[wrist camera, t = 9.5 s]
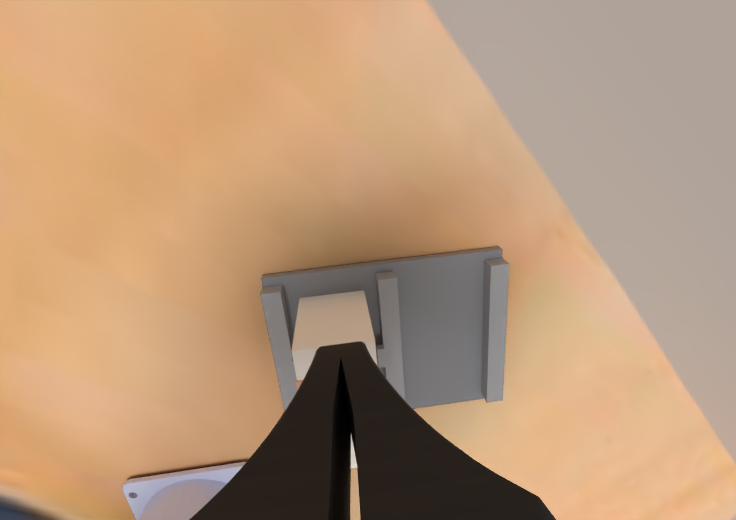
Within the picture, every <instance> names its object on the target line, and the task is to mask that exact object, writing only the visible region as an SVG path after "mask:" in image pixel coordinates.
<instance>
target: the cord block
mask: <svg viewBox="0 0 736 520" xmlns="http://www.w3.org/2000/svg"><path fill="white" fill-rule="evenodd" d="M358 341H362V342H363V343H365V344H366V347H367V349H368V351H369V353H370V355H371V357H372V359H373V360H374V362H375V363H376V365H377V366H378V363H377V357H376V346H375V338H374V333H373V329H372V324H371V320H370V315H369V311H368V306H367V302H366V297H365V292H364V290H362V291H354V292H346V293H337V294H329V295H321V296H313V297H304V298H299V305H298V312H297V318H296V325H295V332H294V338H293V345H292V356H293V362H294V367H295V373H296V387H297V390H298V389H299V387H300V385H301V383H302V381H303V379H304V377H305V376H306V373H307V371H308V369H309V367H310V365H311V363H312V361H313V358H314V356H315V353H316V350H317V349H318V348H319V347H321V346H328V345H336V344H343V343H351V342H358ZM352 468H357V462H356V457H355V451H354V446H353V441H352V435H351V469H352Z"/></svg>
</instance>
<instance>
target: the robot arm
mask: <svg viewBox="0 0 736 520" xmlns="http://www.w3.org/2000/svg"><path fill="white" fill-rule="evenodd" d="M351 435H352V441H353V446H354V451H355V457H356V462H357V468H358V483H359V498H360V514H361V520H556V519H555V518H554V516H553V515H552V514H551V512H550V511H549V510H548V508H547V507H546V506H545V504H544V503H543V502H542V500H541V499H540V498H539V497H538V496H536V495H534V494H532V493H531V492H529V491H527V490H525V489H523V488H521V487H520V486H518V485H516V484H514V483H512V482H510V481H509V480H507V479H505V478H503V477H501V476H499V475H498V474H496V473H494V472H493V471H491V470H489V469H488V468H486V467H485V466H483V465H481V464H480V463H478V462H477V461H475V460H474V459H472V458H471V457H470V456H468V455H467V454H466V453H464V452H463V451H462V450H460V449H459V448H458V447H456V446H455V445H454V444H452V443H451V442H450V441H448V440H447V439H445V438H444V437H443V436H442V435H441V434H439V433H438V432H437V431H436V430H435V429H434V428H432V427H431V426H430V425H429V424H428V423H427V422H426V421H425V420H424V419H422V418H421V417H420V416H419V415H418V414H417V413H416V412H415V411H414V410H413V409H412V408H411V407H410V406H409V405H408V404H407V403H406V401H405V400H404V399H403V398H402V397H401V396H400V395H399V394H398V392H397V391H396V390H395V389H394V388H393V386H392V385H391V384H390V383H389V381H388V380H387V379H386V377H385V376H384V375H383V373H382V372H381V371H380V369H379V368H378V366H377V365H376V363H375V362H374V360H373V359H372V357H371V355H370V353H369V351H368V349H367V347H366V344H365V343H363V342H362V341H358V342H351V343H343V344H336V345H328V346H321V347H319V348H318V349H317V350H316V353H315V356H314V358H313V361H312V363H311V365H310V367H309V369H308V371H307V373H306V376H305V377H304V379H303V381H302V383H301V385H300V387H299V389H298V390H297V392H296V394H295V396H294V397H293V399H292V401H291V402H290V404H289V405H288V407H287V409H286V410H285V412H284V413H283V415H282V416H281V418H280V420H279V421H278V422H277V424H276V425H275V427H274V428H273V429H272V431H271V432H270V434H269V435H268V436H267V438H266V439H265V440H264V441H263V443H262V444H261V445H260V447H259V448H258V449H257V450H256V451H255V453H254V454H253V455H252V456H251V457H250V458H249V460H248V461H247V462H240V463H233V464H226V465H220V466H213V467H207V468H200V469H193V470H187V471H180V472H174V473H167V474H160V475H154V476H147V477H141V478H134V479H129V480H127V481H126V482H125V484H124V485H123V488H122V489H123V492H124V494H125V497H126V499H127V501H128V503H129V506H130V508H131V510H132V512H133V515H134V517H135V519H136V520H350V478H351Z"/></svg>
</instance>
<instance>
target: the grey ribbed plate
mask: <svg viewBox="0 0 736 520" xmlns="http://www.w3.org/2000/svg"><path fill="white" fill-rule="evenodd" d="M261 280H262V285H263V289H262V291H261V294H260V296H261V301H262V305H263V310H264V315H265V319H266V324H267V329H268V334H269V338H270V343H271V348H272V353H273V357H274V362H275V367H276V371H277V376H278V381H279V386H280V390H281V395H282V400H283V405H284V409H285V410H286V409H287V407H288V405H289V404H290V402H291V401H292V399H293V397H294V396H295V394H296V392H297V387H296V373H295V367H294V362H293V356H292V345H293V338H294V332H295V325H296V318H297V312H298V305H299V298H304V297H313V296H321V295H329V294H337V293H346V292H354V291H362V290H364V292H365V297H366V302H367V306H368V311H369V315H370V320H371V324H372V329H373V333H374V338H375V346H376V357H377V363H378V368H379V369H380V371H381V372H382V373H383V375H384V376H385V377H386V379H387V380H388V381H389V383H390V384H391V385H392V386H393V388H394V389H395V390H396V391H397V392H398V394H399V395H400V396H401V397H402V398H403V399H404V400H405V401H406V403H407V404H408V405H409V406H410V407H411V408H412V409H416V408H422V407H429V406H436V405H443V404H450V403H456V402H463V401H470V400H477V399H484V398H485V400H486V402H494V401H501V400H503V384H504V363H505V342H506V322H507V301H508V280H509V263H508V262H506V261H505V260H504V259H503V258H502V249H501V248H500V247H490V248H482V249H473V250H465V251H457V252H449V253H440V254H432V255H424V256H415V257H407V258H399V259H390V260H382V261H374V262H365V263H357V264H349V265H340V266H332V267H324V268H315V269H307V270H299V271H290V272H282V273H274V274H266V275H262V278H261Z"/></svg>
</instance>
